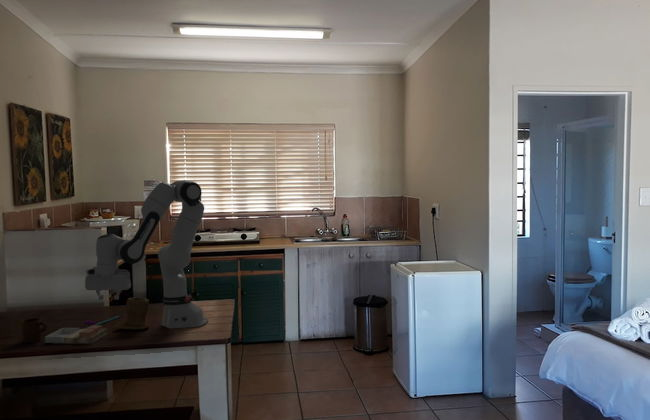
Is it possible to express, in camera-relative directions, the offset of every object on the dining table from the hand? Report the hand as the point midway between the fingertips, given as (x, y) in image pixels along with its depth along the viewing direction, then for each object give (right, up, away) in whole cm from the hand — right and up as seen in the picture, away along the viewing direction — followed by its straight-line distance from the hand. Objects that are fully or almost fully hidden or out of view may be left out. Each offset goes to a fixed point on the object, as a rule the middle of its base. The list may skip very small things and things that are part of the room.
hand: (108, 299), depth 234 cm
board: (-10, -18, -2) cm, 20 cm away
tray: (-21, -18, -1) cm, 27 cm away
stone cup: (+7, -17, +13) cm, 22 cm away
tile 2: (-7, -15, -5) cm, 18 cm away
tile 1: (-7, -15, +1) cm, 16 cm away
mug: (-31, -18, -3) cm, 36 cm away
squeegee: (-18, -18, +23) cm, 34 cm away
